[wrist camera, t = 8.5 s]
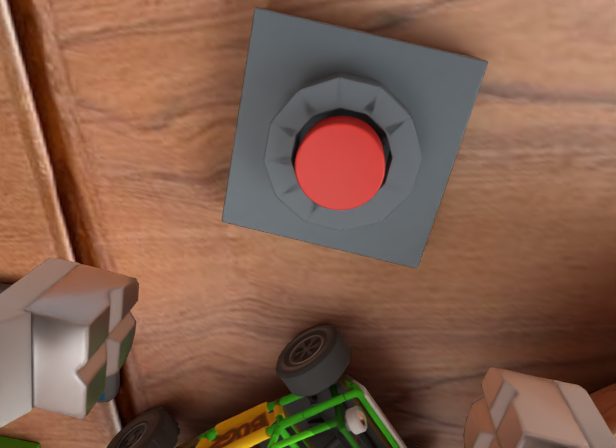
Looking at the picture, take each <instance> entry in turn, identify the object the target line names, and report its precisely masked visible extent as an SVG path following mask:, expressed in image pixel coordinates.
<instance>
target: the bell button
mask: <svg viewBox="0 0 616 448" xmlns="http://www.w3.org/2000/svg"><path fill="white" fill-rule="evenodd" d="M295 174H296V178H297V181H298V183H299V186H300V187H301V189H302V191H303V192H304V193H305V195H306V196H307V197H308V198H309V199H311V200H312V201H313V202H315V203H316V204H318V205H320V206H322V207H325V208H328V209H333V210H348V209H353V208H356V207H359V206H361V205H363V204H364V203H366V202H367V201H369V200H370V199H371V198H372V197H373V196H374V195H375V194H376V193H377V191H378V190H379V188H380V186H381V184H382V182H383V179H384V175H385V157H384V150H383V145H382V143H381V140H380V138H379V136H378V135H377V133H376V132H375V130H374V129H373V128H372V127H371V126H370V125H368V124H367V123H366V122H364V121H362V120H360V119H358V118H355V117H352V116H347V115H338V116H332V117H328V118H325V119H323V120H321V121H319V122H318V123H316V124H315V125H314V126H313V127H312V128H311V129H310V130H309V131H308V132H307V134H306V135H305V137H304V139H303V141H302V143H301V145H300V146H299V149H298V151H297V154H296V158H295Z"/></svg>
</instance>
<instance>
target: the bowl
mask: <svg viewBox="0 0 616 448" xmlns="http://www.w3.org/2000/svg"><path fill="white" fill-rule="evenodd" d="M589 396H590V398H591V399H592V401H593V403H594V404H595V406H596V408H597V409H598V411H599V413H600V414H601V416H602V418H603V419H604V421H605V423H606V424H607V426H608V428H609V429H610V431H611V433H612V434H613V436H614V438H615V439H616V383H614V384H611V385H609V386H606V387H604V388H601V389H599V390H597V391H595V392H593V393H591V394H589Z"/></svg>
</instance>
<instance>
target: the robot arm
mask: <svg viewBox="0 0 616 448" xmlns="http://www.w3.org/2000/svg"><path fill="white" fill-rule="evenodd" d="M138 294H139V283H138V281H137V279H136V278H132V277H129V276H125V275H121V274H117V273H114V272H110V271H106V270H102V269H99V268H95V267H91V266H87V265H81V264H80V263H76V262H72V261H68V260H64V259H59V258H48V259H47V260H46V261H44V262H43V263H41V264H40V265H39V266H37V267H36V268H35V269H33V270H32V271H31V272H29V273H28V274H26V275H25V276H24V277H22V278H21V279H20V280H18V281H17V282H16V283H14V284H13V285H12V286H10V287H9V288H7V289H6V290H5V291H3V292H2V293H1V294H0V428H1V427H2V426H4V425H6V424H8V423H10V422H12V421H13V420H15V419H17V418H19V417H21V416H23V415H24V414H26V413H28V412H30V411H31V410H32V408H36V409H41V410H45V411H50V412H54V413H59V414H63V415H68V416H72V417H77V418H82V419H85V417H86V416H87V415H88V413H89V412H90V410H91V409H92V408H93V406H94V405H95V404H96V402H97V401H98V399H99V398H100V397H101V395H102V394H103V392H104V391H105V383H106V377H109V376H111V375H113V374H115V373H118V371H119V370H120V368H121V367H122V365H123V364H124V362H125V361H126V358H127V356H128V354H129V352H130V349H131V347H132V344H133V339H134V335H135V329H136V320H135V318H134V317H133V315H132V313H131V312H130V310H131V309H132V307H133V306H134V305H135V304H136V302H137V301H138ZM481 386H482V390H483V393H484V396H485V397H484V398H482V399H480V400H478V401H477V402H475V403H473V404H472V406H471V408H470V411H469V413H468V416H467V418H466V424H465V430H464V448H616V439H615V438H614V436H613V434H612V433H611V431H610V429H609V428H608V426H607V424H606V423H605V421H604V419H603V418H602V416H601V414H600V413H599V411H598V409H597V408H596V406H595V404H594V403H593V401H592V399H591V398H590V396H589V394H588V393H587V391H586V390H585V389H583V388H582V387H581V386H579V385H575V384H571V383H566V382H561V381H556V380H551V379H545V378H540V377H536V376H532V375H527V374H523V373H518V372H514V371H509V370H505V369H500V368H496V367H491V368H490V370H489V371H488V372H487V373H486V375H485V377H484V379H483V381H482V383H481Z"/></svg>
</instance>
